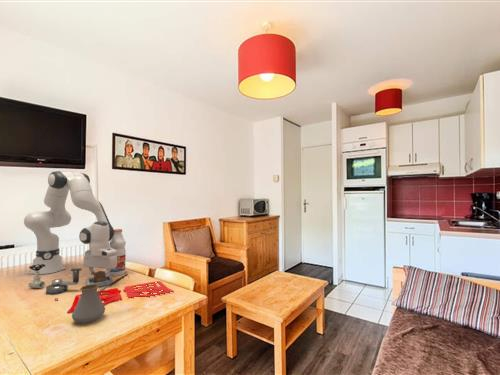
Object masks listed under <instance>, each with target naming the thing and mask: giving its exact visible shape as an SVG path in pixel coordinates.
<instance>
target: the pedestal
mask: <svg viewBox="0 0 500 375" xmlns="http://www.w3.org/2000/svg"><path fill="white" fill-rule="evenodd" d="M68 290H69V285H59V286H52V283H51V284H49V285H47V286H46V288H45V294H46V295H48V296H49V295H50V296H52V295H59V294H63V293H65V292H67V291H68ZM58 301H59V298H58V297H55V298H54V302H58Z"/></svg>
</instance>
